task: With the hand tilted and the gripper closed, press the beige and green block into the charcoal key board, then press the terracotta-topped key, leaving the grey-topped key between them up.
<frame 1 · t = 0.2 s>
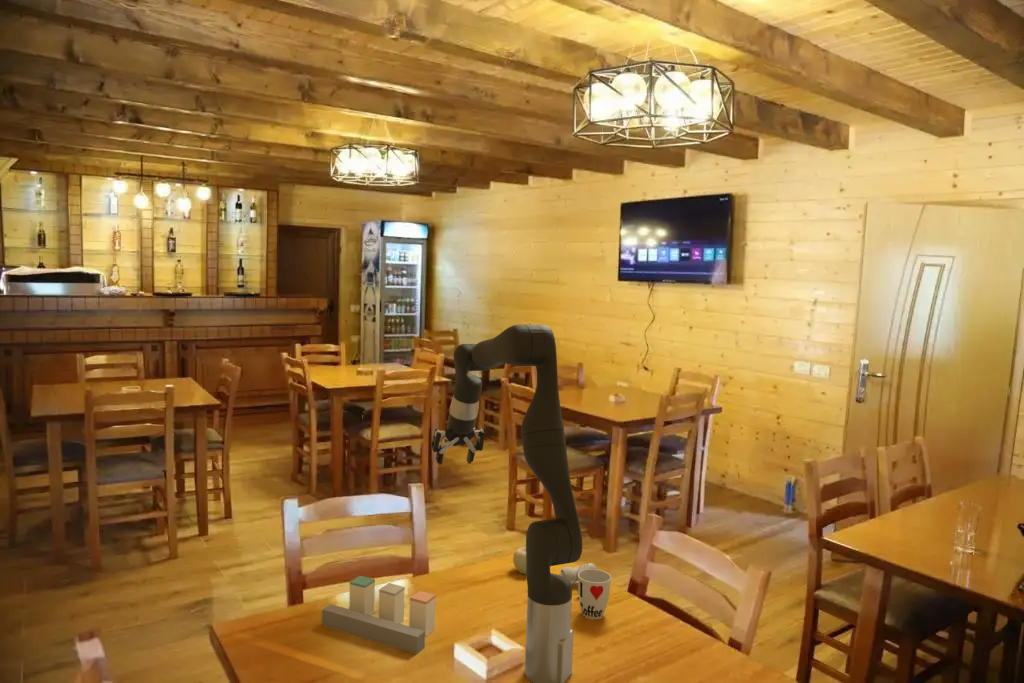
hand: (454, 462, 196), 31 cm above the table, tool tilted 20°, fingers open, 8 cm apart
beige and green block: (362, 596, 169), point 5 cm above the table, slide at 0.0 cm
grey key: (391, 605, 166), point 5 cm above the table, slide at 0.0 cm
fruit: (525, 572, 200), on the table
key board: (388, 628, 165), on the table
clip-on lamp: (569, 592, 188), on the table
cup: (592, 615, 175), on the table
terracotta key: (422, 613, 162), point 5 cm above the table, slide at 0.0 cm
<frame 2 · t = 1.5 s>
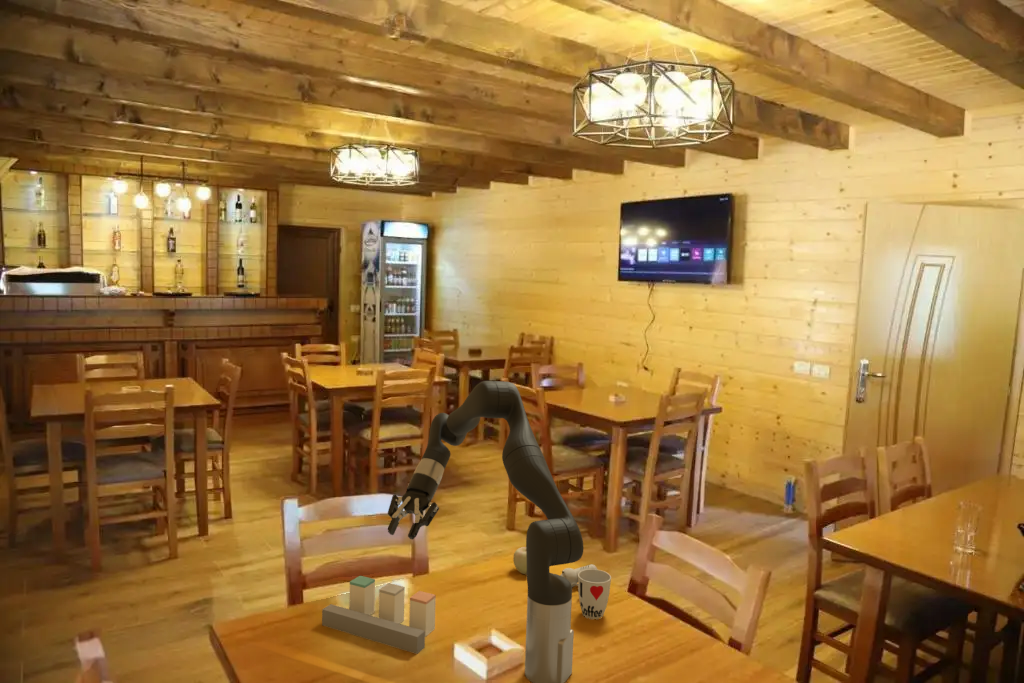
hand: (400, 535, 183), 15 cm above the table, tool tilted 45°, fingers open, 5 cm apart
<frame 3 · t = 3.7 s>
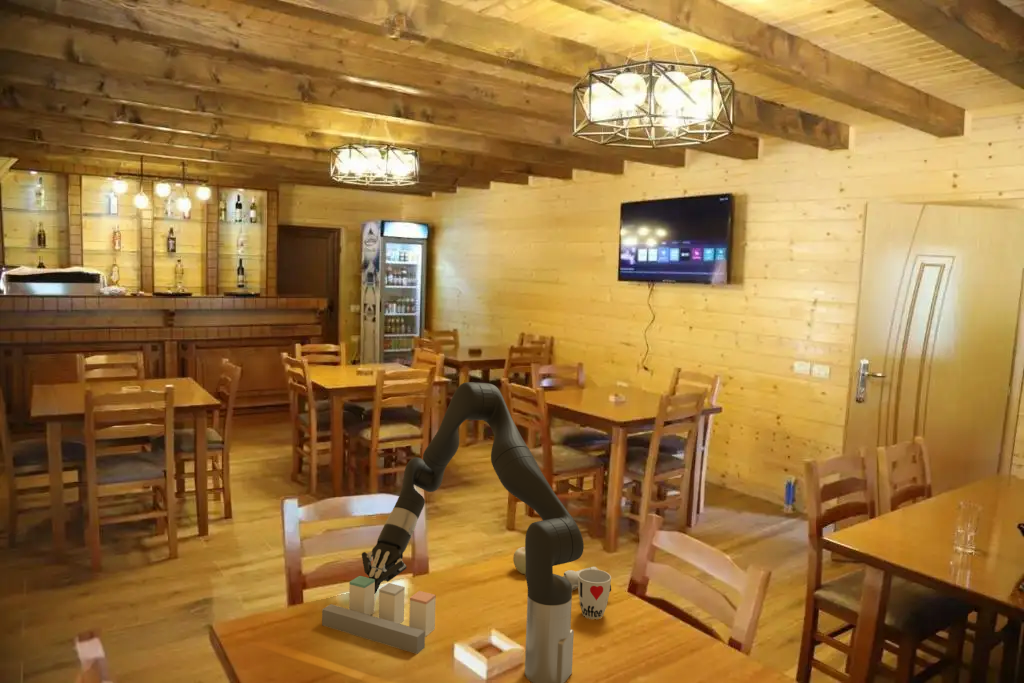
hand: (368, 594, 172), 5 cm above the table, tool tilted 45°, fingers closed
beige and green block: (361, 597, 169), point 5 cm above the table, slide at 0.1 cm, touching gripper
clip-on lamp: (572, 595, 186), on the table
everything else where it was.
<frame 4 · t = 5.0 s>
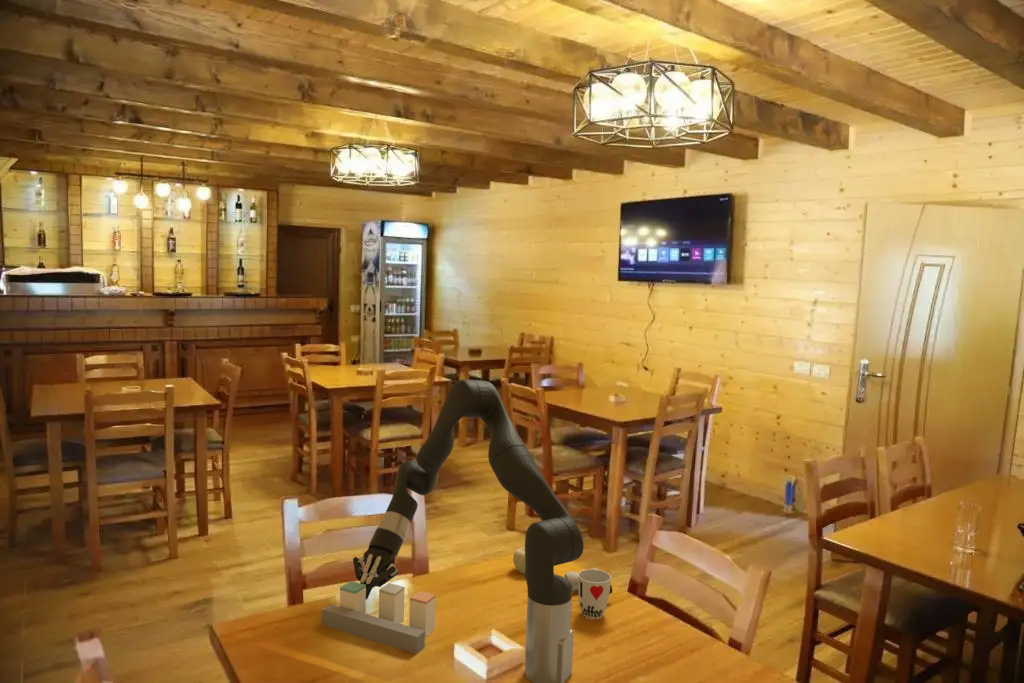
hand: (359, 600, 169), 5 cm above the table, tool tilted 45°, fingers closed
beige and green block: (352, 602, 166), point 5 cm above the table, slide at 3.5 cm, touching gripper
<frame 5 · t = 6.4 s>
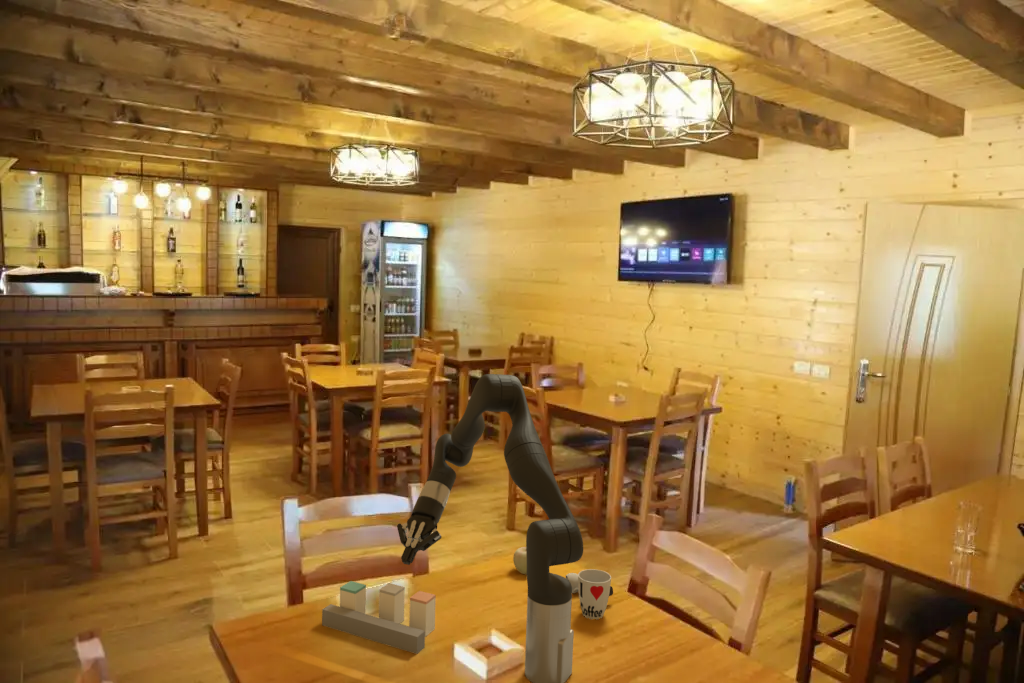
hand: (405, 563, 177), 11 cm above the table, tool tilted 45°, fingers closed
beige and green block: (352, 602, 166), point 5 cm above the table, slide at 3.5 cm
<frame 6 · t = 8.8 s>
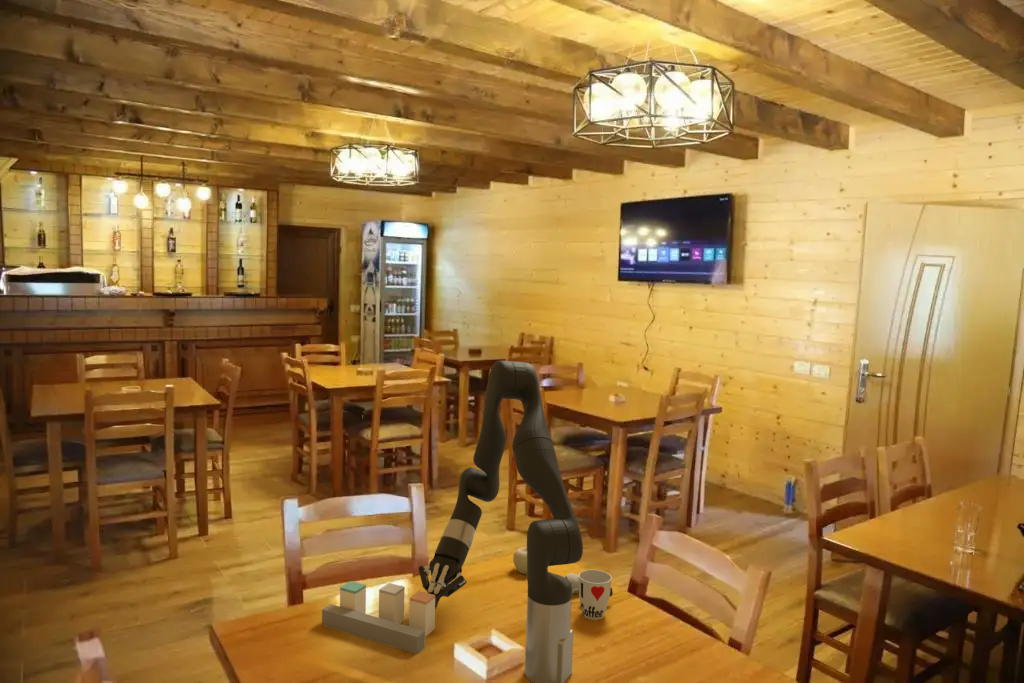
hand: (428, 610, 164), 5 cm above the table, tool tilted 45°, fingers closed
terracotta key: (422, 613, 162), point 5 cm above the table, slide at 0.1 cm, touching gripper
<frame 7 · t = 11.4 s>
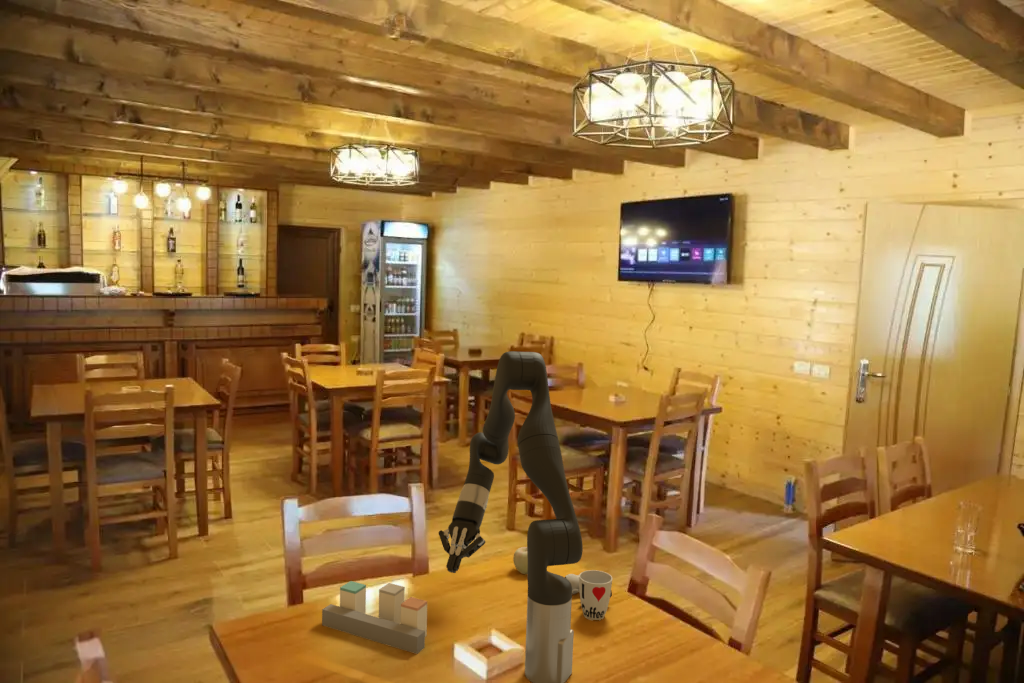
hand: (451, 571, 173), 11 cm above the table, tool tilted 40°, fingers closed
terracotta key: (413, 620, 159), point 5 cm above the table, slide at 3.6 cm
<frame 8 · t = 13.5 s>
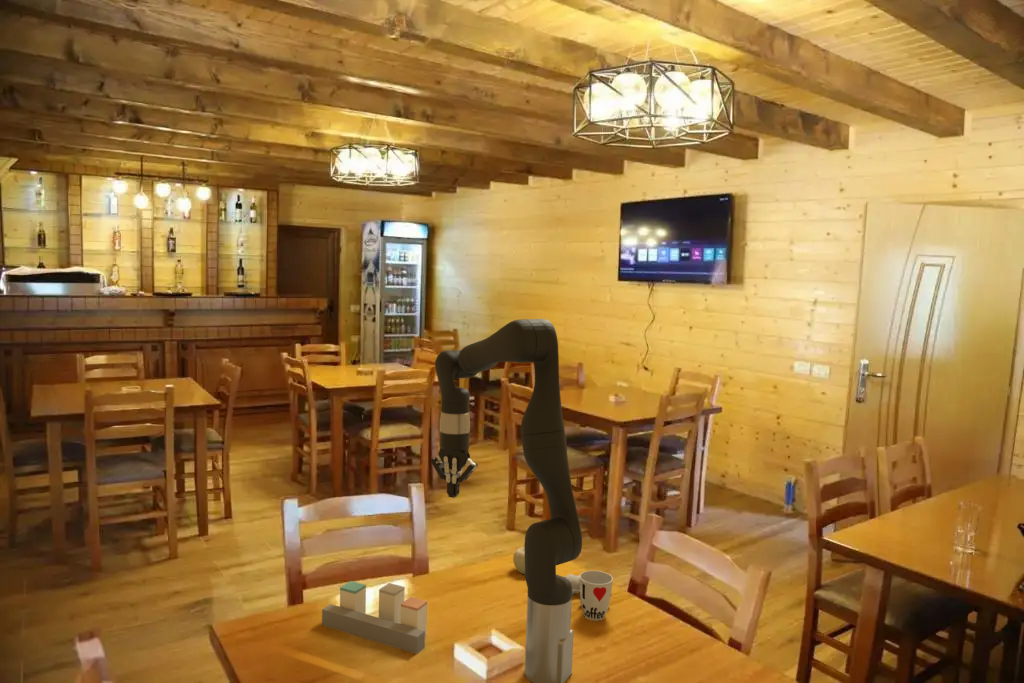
hand: (453, 496, 179), 27 cm above the table, tool pointing down, fingers closed
at the end: beige and green block slide at 3.5 cm; terracotta key slide at 3.6 cm; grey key slide at 0.0 cm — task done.
